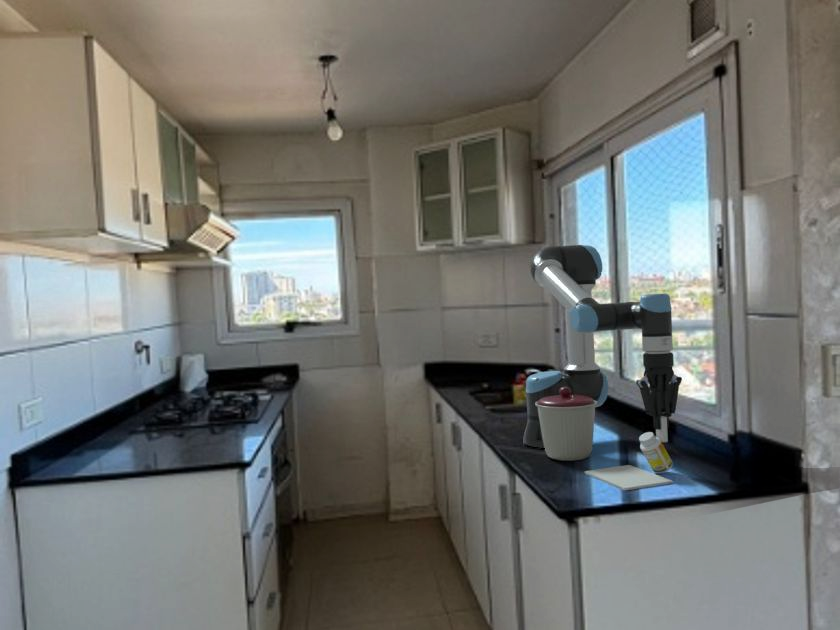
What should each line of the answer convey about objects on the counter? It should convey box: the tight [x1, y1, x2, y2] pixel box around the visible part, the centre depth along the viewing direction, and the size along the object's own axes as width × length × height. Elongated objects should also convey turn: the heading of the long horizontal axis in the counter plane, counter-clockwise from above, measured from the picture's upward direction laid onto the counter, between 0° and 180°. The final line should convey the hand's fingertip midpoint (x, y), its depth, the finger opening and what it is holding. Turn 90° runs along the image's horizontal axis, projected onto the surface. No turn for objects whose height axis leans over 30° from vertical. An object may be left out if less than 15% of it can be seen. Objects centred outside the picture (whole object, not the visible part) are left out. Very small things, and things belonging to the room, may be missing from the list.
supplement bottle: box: [638, 431, 673, 474], centre depth 170 cm, size 6×6×10 cm
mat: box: [584, 464, 674, 492], centre depth 168 cm, size 18×14×1 cm
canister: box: [535, 387, 597, 462], centre depth 193 cm, size 18×18×21 cm
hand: (662, 441), depth 171 cm, fingers closed
